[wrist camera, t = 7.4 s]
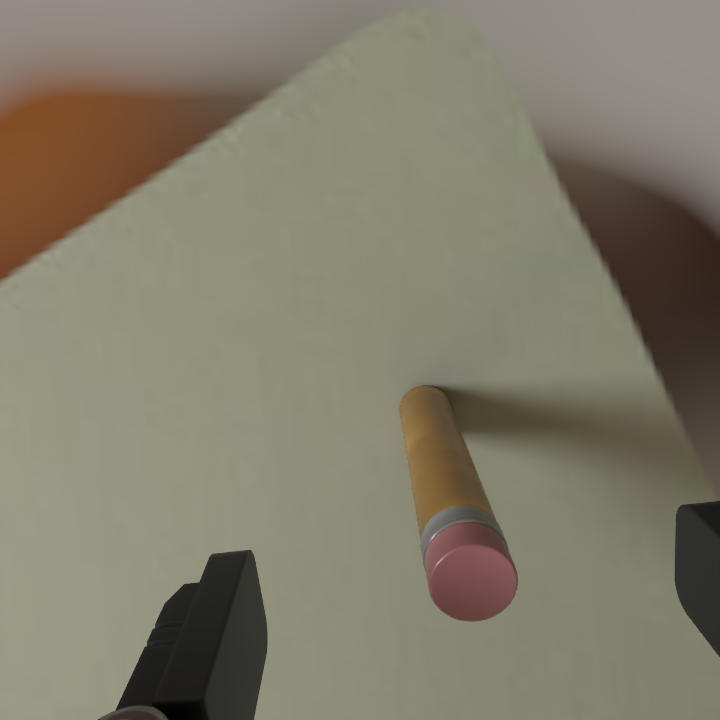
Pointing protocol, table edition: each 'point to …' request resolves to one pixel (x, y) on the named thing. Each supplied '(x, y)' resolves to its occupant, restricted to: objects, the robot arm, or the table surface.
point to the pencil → (454, 513)
